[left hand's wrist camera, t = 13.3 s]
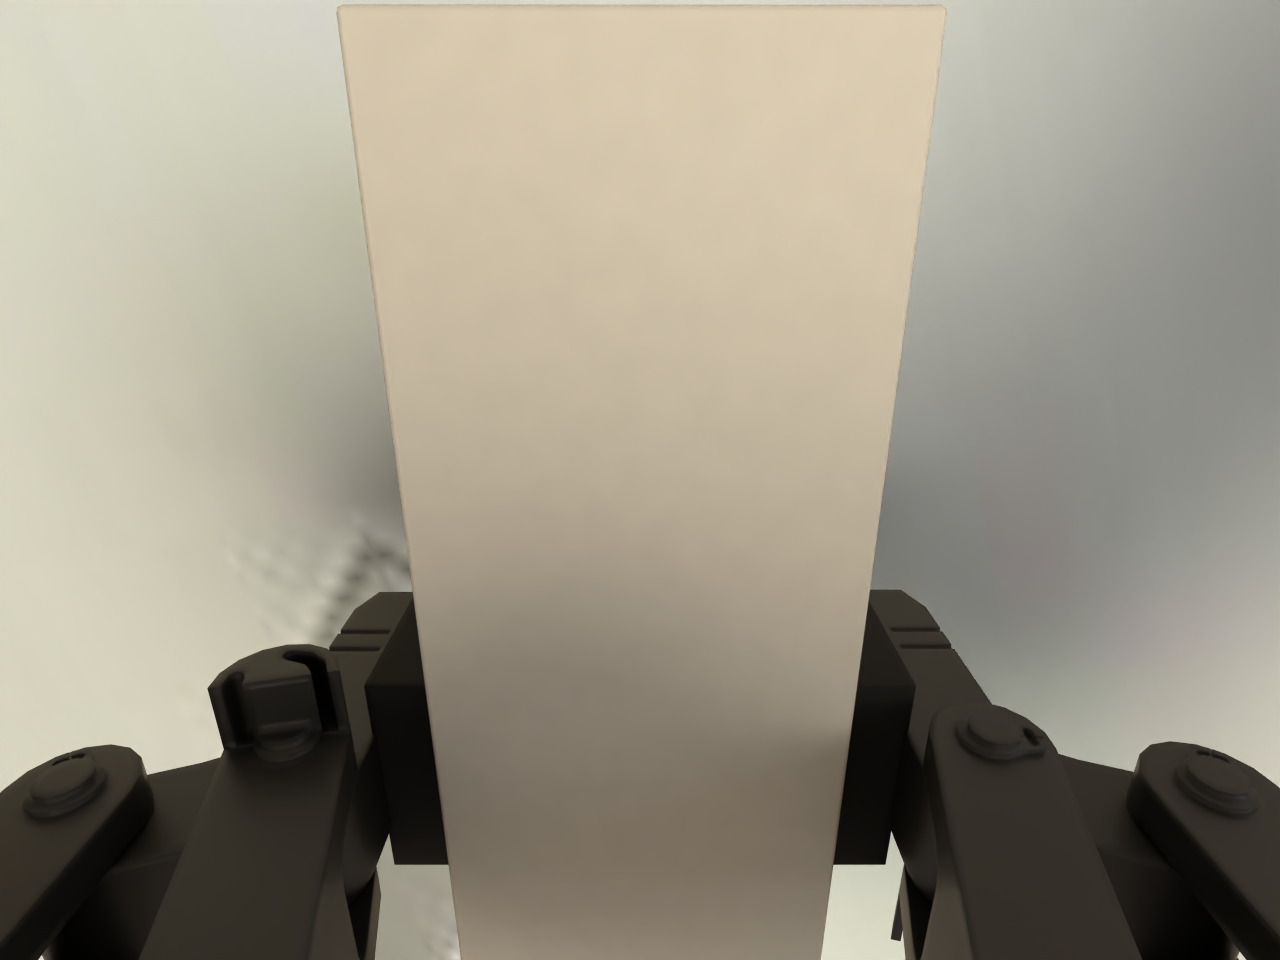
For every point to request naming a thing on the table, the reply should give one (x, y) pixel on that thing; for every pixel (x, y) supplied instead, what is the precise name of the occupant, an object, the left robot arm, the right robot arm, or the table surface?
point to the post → (641, 441)
